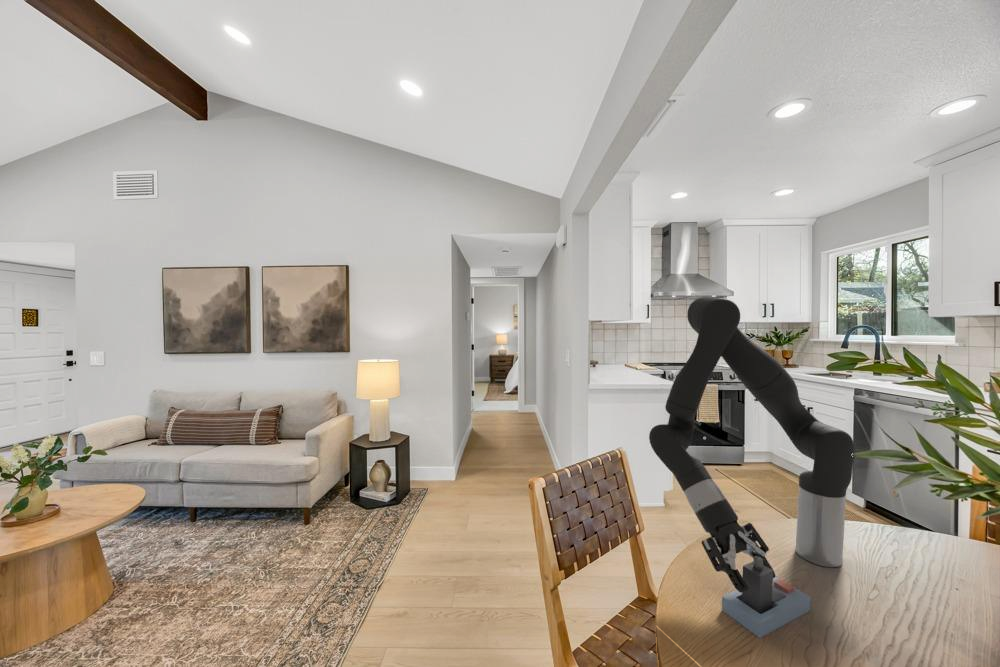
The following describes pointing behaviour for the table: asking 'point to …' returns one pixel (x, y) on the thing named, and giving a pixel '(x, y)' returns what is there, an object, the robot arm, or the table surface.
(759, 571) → the black plug
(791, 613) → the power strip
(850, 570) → the table surface
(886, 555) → the table surface
